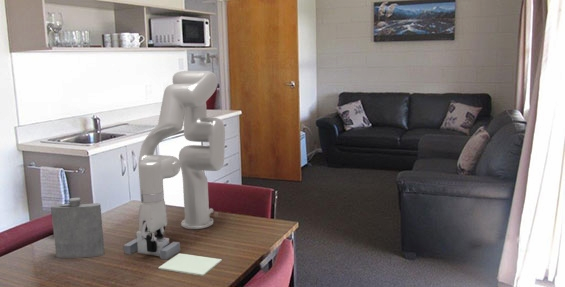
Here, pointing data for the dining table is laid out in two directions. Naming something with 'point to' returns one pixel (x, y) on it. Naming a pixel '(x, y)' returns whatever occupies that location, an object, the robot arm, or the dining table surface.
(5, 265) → the dining table surface
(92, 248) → the hip flask
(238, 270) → the dining table surface
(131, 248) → the vise jaws
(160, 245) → the white pedestal stand
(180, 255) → the mat
